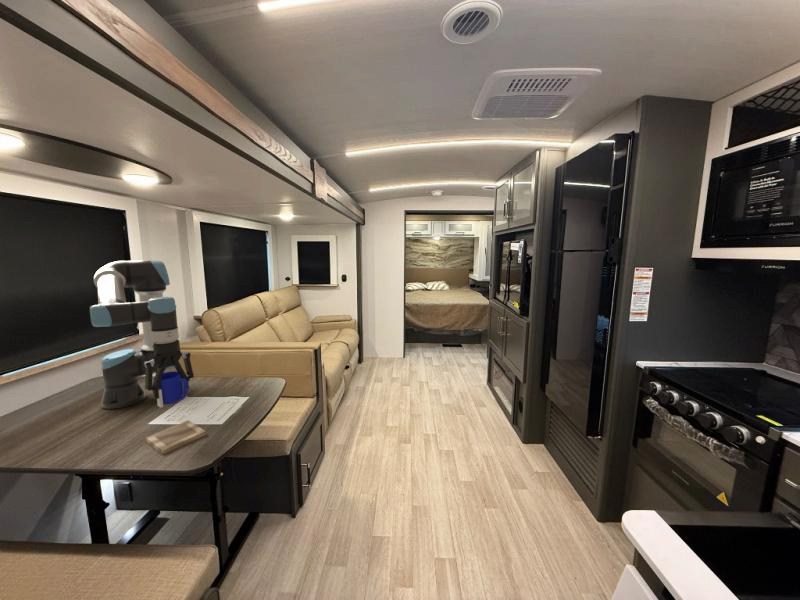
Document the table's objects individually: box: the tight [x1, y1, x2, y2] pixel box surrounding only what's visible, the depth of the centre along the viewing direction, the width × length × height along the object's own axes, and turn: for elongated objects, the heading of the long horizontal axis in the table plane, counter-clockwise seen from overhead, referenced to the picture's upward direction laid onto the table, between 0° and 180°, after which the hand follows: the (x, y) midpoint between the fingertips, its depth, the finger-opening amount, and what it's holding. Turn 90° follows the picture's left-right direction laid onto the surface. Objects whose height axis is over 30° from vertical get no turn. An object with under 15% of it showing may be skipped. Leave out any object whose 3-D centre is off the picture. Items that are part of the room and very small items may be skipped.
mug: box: [152, 370, 189, 406], centre depth 113 cm, size 8×12×10 cm
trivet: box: [145, 419, 207, 455], centre depth 115 cm, size 14×14×2 cm
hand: (172, 401), depth 113 cm, fingers closed on mug, 7 cm apart
